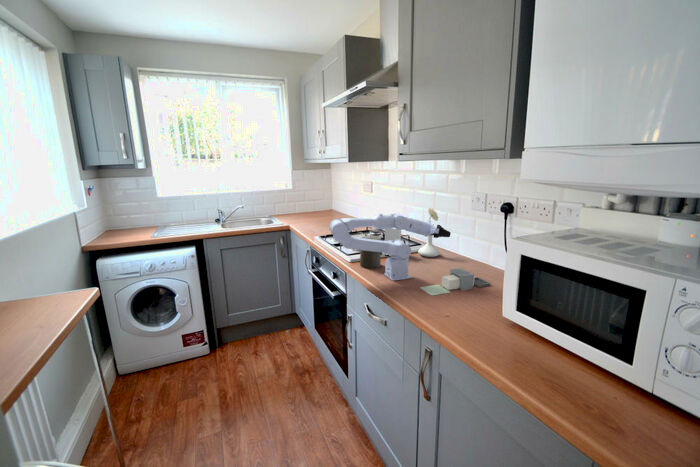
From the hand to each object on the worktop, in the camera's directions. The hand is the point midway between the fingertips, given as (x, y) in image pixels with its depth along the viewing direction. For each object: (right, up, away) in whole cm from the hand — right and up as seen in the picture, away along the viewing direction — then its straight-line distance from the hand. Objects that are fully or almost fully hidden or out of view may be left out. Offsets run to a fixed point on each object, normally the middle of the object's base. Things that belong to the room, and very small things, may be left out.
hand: (445, 234), depth 138 cm
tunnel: (+3, -21, -10) cm, 23 cm away
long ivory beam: (+2, -21, -11) cm, 24 cm away
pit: (+11, -20, -7) cm, 24 cm away
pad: (-8, -22, -14) cm, 27 cm away
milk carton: (-19, -11, +32) cm, 39 cm away
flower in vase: (+1, -11, +31) cm, 33 cm away
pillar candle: (-32, -15, +15) cm, 38 cm away
